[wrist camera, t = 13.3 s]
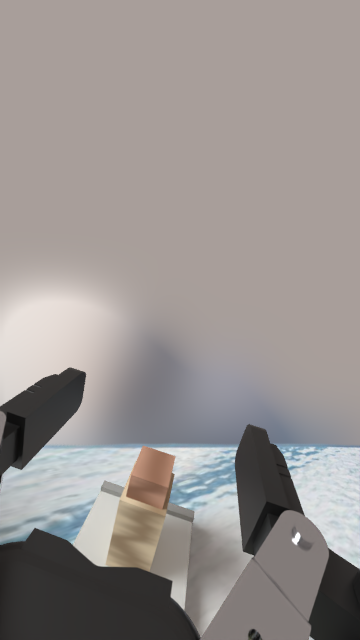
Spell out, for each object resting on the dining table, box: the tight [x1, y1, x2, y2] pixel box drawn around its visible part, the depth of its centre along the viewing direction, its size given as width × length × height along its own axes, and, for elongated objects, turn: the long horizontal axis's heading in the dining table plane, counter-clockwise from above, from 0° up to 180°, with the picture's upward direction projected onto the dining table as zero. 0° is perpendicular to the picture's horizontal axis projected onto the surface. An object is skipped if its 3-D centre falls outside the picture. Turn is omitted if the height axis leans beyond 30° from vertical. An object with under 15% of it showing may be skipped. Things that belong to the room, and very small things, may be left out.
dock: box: [73, 481, 194, 610], centre depth 29 cm, size 14×12×4 cm
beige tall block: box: [105, 446, 175, 572], centre depth 27 cm, size 5×5×13 cm
